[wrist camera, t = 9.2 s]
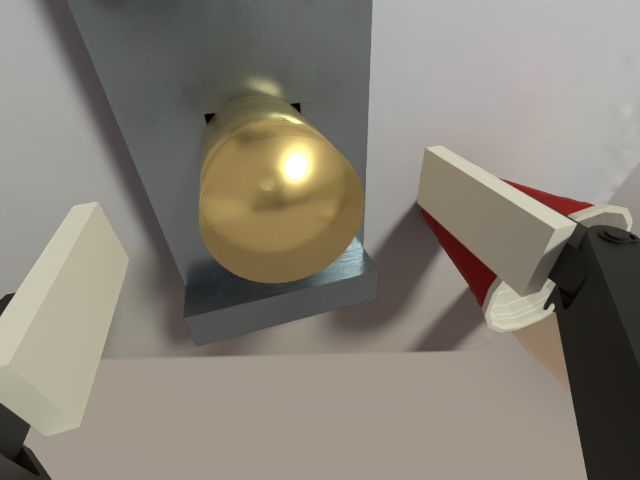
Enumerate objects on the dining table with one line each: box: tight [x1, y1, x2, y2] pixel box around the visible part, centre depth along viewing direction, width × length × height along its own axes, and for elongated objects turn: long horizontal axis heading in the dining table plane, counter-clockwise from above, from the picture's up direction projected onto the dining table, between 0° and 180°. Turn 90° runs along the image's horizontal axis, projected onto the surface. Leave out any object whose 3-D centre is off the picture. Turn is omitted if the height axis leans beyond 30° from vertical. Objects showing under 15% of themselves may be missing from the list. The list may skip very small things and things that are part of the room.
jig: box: [66, 0, 379, 346], centre depth 19 cm, size 24×14×6 cm, turn 4°
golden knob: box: [199, 94, 364, 283], centre depth 17 cm, size 7×7×10 cm
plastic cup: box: [422, 178, 633, 332], centre depth 25 cm, size 11×11×12 cm
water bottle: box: [511, 312, 571, 392], centre depth 28 cm, size 10×9×28 cm
